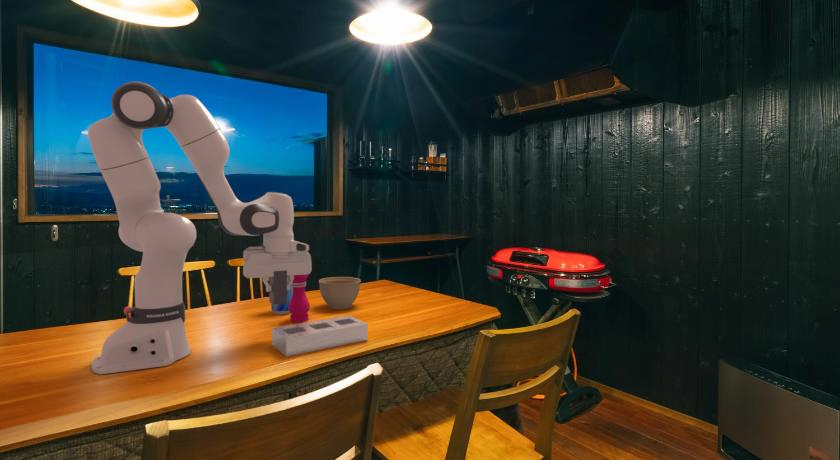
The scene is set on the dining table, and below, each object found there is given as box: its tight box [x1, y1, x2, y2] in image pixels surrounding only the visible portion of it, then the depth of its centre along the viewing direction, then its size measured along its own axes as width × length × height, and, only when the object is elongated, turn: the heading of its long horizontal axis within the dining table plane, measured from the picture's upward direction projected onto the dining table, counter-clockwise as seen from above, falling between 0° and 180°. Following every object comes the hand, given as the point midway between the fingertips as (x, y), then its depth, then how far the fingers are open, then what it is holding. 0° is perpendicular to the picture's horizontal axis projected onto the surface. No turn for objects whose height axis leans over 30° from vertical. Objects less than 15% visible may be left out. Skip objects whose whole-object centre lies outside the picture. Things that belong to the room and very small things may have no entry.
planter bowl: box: [318, 276, 362, 310], centre depth 178 cm, size 16×16×11 cm
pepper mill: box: [289, 274, 311, 323], centre depth 159 cm, size 7×7×20 cm
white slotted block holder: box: [271, 315, 369, 357], centre depth 135 cm, size 25×12×5 cm, turn 126°
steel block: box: [268, 271, 287, 304], centre depth 139 cm, size 4×4×10 cm
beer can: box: [270, 278, 293, 315], centre depth 170 cm, size 8×8×16 cm
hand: (278, 290), depth 139 cm, fingers closed on steel block, 4 cm apart
